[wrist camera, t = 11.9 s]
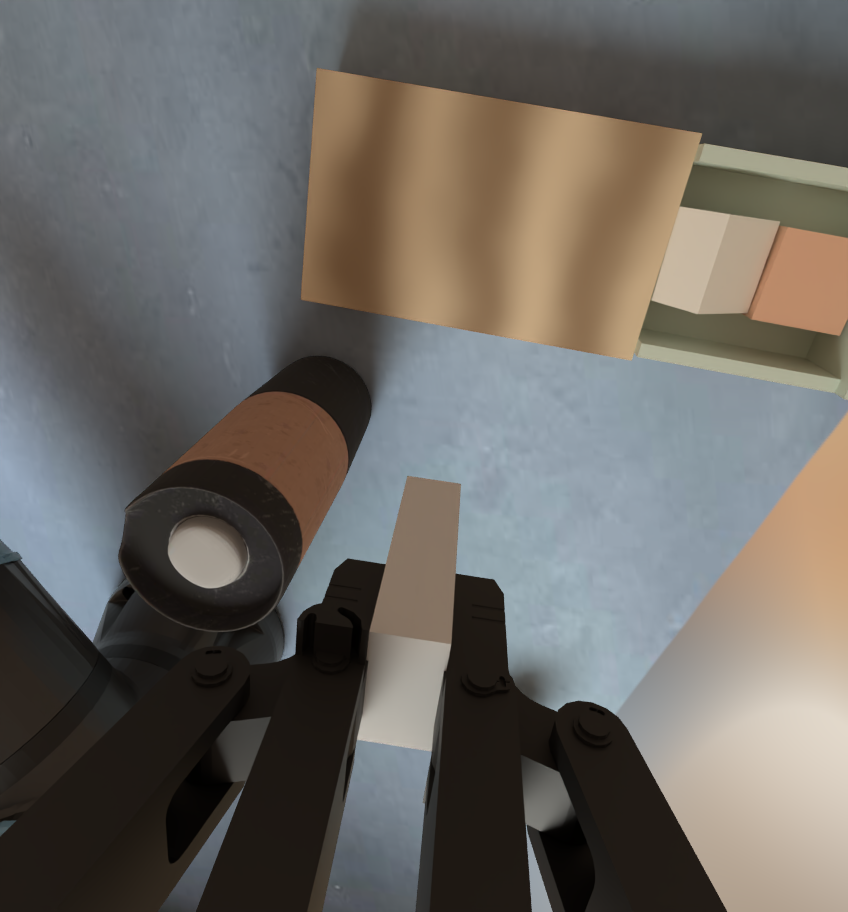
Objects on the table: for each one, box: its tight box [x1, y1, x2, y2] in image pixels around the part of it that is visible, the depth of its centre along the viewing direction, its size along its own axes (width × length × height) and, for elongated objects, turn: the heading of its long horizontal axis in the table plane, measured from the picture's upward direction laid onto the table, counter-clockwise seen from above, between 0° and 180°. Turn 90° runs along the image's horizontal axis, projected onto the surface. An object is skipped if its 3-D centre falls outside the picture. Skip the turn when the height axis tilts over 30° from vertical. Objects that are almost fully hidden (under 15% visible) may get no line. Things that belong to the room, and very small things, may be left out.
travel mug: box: [118, 356, 371, 632], centre depth 35 cm, size 8×8×20 cm
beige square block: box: [652, 206, 780, 314], centre depth 34 cm, size 5×5×3 cm
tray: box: [634, 144, 848, 400], centre depth 34 cm, size 12×11×6 cm
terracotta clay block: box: [741, 225, 848, 336], centre depth 35 cm, size 5×5×3 cm
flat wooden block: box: [301, 68, 702, 360], centre depth 36 cm, size 20×12×4 cm, turn 81°
